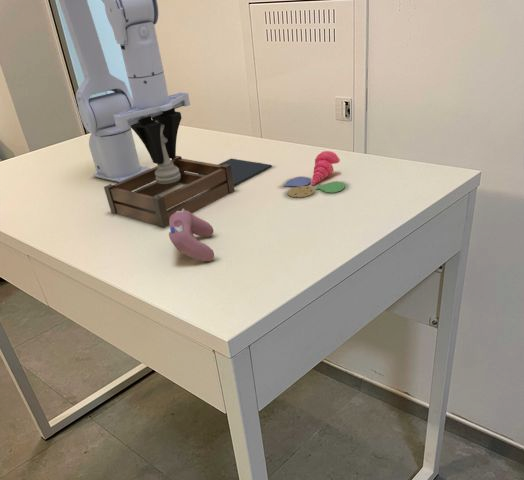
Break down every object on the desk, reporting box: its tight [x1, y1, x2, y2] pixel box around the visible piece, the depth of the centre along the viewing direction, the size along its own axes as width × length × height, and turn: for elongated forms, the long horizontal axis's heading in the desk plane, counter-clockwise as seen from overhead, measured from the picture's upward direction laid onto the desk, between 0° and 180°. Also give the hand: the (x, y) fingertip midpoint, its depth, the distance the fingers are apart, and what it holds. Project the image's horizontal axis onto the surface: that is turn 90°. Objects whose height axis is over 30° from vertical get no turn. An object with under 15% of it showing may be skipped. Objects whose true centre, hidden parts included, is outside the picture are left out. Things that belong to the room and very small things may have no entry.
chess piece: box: [155, 120, 181, 184], centre depth 94 cm, size 4×4×10 cm
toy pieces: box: [283, 150, 346, 198], centre depth 97 cm, size 12×11×4 cm
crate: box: [103, 155, 236, 228], centre depth 97 cm, size 14×17×5 cm
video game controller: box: [168, 209, 215, 262], centre depth 80 cm, size 10×5×7 cm, turn 5°
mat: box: [200, 158, 273, 187], centre depth 108 cm, size 11×11×1 cm
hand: (164, 160), depth 95 cm, fingers closed on chess piece, 2 cm apart
